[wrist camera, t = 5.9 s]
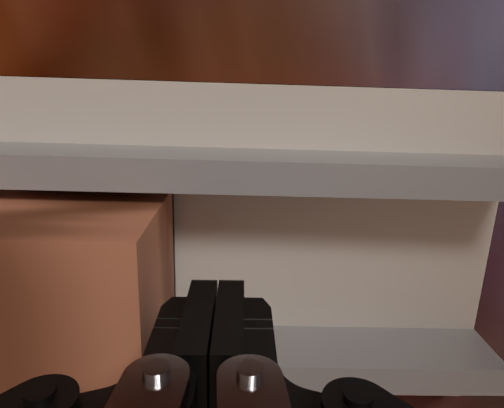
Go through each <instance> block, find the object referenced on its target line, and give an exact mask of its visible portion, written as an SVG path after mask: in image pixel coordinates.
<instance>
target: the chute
mask: <svg viewBox="0 0 504 408" xmlns="http://www.w3.org/2000/svg"><path fill="white" fill-rule="evenodd" d="M0 189H2V190H43V191H84V192H125V193H167V194H172V211H173V257H174V297H187V295H188V291H189V287H190V284H191V280H217V284H219V280H244V297H250V298H263V299H264V300H265V301H266V302H267V303H268V304H269V305H270V307H271V311H272V320H273V329H274V336H275V344H276V353H277V361H278V365H279V367H280V368H281V370H282V372H283V376H285V377H286V378H287V379H288V380H289V381H290V382H292V383H294V384H296V385H298V386H300V387H302V388H306V389H309V390H313V391H317V392H321V393H322V390H323V388H324V387H325V386H326V384H328V383H329V382H330V381H332V380H334V379H338V378H342V377H356V378H362V379H365V380H368V381H371V382H373V383H375V384H377V385H379V386H380V387H382V388H383V389H385V390H387V391H388V392H390V393H391V394H393V395H420V396H461V395H466V396H504V361H503V360H502V359H501V358H500V357H499V356H498V355H497V354H496V352H495V351H494V350H493V349H492V348H491V347H490V346H489V345H488V344H487V343H486V342H485V341H484V339H483V338H482V337H481V336H480V335H479V334H478V333H477V332H476V331H475V330H474V326H475V320H476V315H477V310H478V305H479V300H480V295H481V290H482V284H483V279H484V274H485V269H486V264H487V259H488V254H489V248H490V243H491V238H492V233H493V228H494V223H495V218H496V212H497V207H498V202H504V92H496V91H464V90H432V89H399V88H367V87H335V86H302V85H270V84H237V83H205V82H173V81H140V80H108V79H76V78H43V77H11V76H0Z"/></svg>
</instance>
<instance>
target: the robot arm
mask: <svg viewBox="0 0 504 408" xmlns="http://www.w3.org/2000/svg"><path fill="white" fill-rule="evenodd" d="M0 408H413V407H412V406H410V405H409V404H407V403H405V402H404V401H402V400H401V399H399V398H398V397H396V396H394V395H393V394H391V393H390V392H388V391H387V390H385V389H383V388H382V387H380V386H379V385H377V384H375V383H373V382H371V381H368V380H365V379H362V378H356V377H342V378H338V379H334V380H332V381H330V382H329V383H328V384H326V386H325V387H324V388H323V390H322V393H321V392H317V391H313V390H309V389H306V388H302V387H300V386H298V385H296V384H294V383H292V382H290V381H289V380H288V379H287V378H286V377H285V376H283V372H282V370H281V368H280V367H279V365H278V361H277V353H276V344H275V336H274V329H273V320H272V311H271V307H270V305H269V304H268V303H267V302H266V301H265V300H264V299H263V298H250V297H244V280H219V284H217V280H191V284H190V287H189V291H188V295H187V297H171V298H170V299H169V300H168V301H166V302H165V303H164V304H163V305H162V306H161V308H160V310H159V313H158V316H157V319H156V321H155V324H154V328H153V329H152V332H151V335H150V337H149V340H148V343H147V345H146V348H145V351H144V354H143V356H142V357H141V358H139V359H137V360H135V361H133V362H132V363H131V364H129V365H128V366H127V367H126V368H125V370H124V371H123V373H122V375H121V377H120V379H119V381H118V383H117V384H114V385H112V386H109V387H105V388H101V389H96V390H92V391H87V392H83V393H80V388H79V384H78V382H77V381H76V380H75V379H74V378H72V377H70V376H67V375H63V374H47V375H42V376H38V377H34V378H32V379H29V380H27V381H25V382H22V383H20V384H19V385H17V386H15V387H13V388H11V389H9V390H7V391H5V392H3V393H1V394H0Z"/></svg>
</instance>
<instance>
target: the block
mask: <svg viewBox="0 0 504 408" xmlns="http://www.w3.org/2000/svg"><path fill="white" fill-rule="evenodd" d="M171 297H174V257H173V211H172V194H167V193H125V192H84V191H43V190H2V189H0V394H1V393H3V392H5V391H7V390H9V389H11V388H13V387H15V386H17V385H19V384H20V383H22V382H25V381H27V380H29V379H32V378H34V377H38V376H42V375H47V374H63V375H67V376H70V377H72V378H74V379H75V380H76V381H77V382H78V384H79V388H80V393H83V392H87V391H92V390H96V389H101V388H105V387H109V386H112V385H114V384H117V383H118V381H119V379H120V377H121V375H122V373H123V371H124V370H125V368H126V367H127V366H128V365H129V364H131V363H132V362H133V361H135V360H137V359H139V358H141V357H142V356H143V354H144V351H145V348H146V345H147V343H148V340H149V337H150V335H151V332H152V329H153V328H154V324H155V321H156V319H157V316H158V313H159V310H160V308H161V306H162V305H163V304H164V303H165V302H166V301H168V300H169V299H170V298H171Z"/></svg>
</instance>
